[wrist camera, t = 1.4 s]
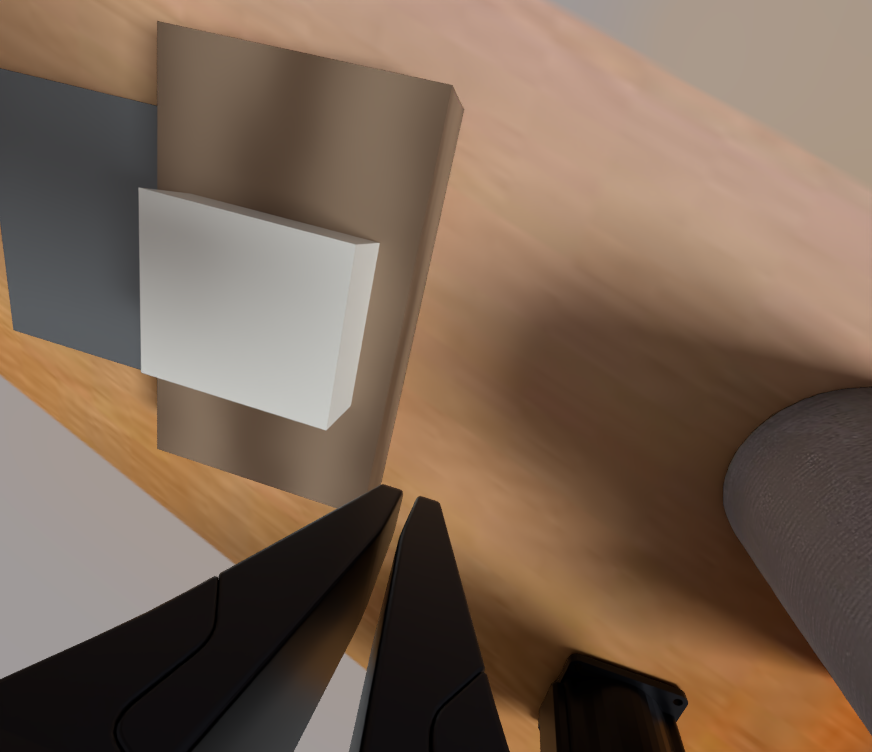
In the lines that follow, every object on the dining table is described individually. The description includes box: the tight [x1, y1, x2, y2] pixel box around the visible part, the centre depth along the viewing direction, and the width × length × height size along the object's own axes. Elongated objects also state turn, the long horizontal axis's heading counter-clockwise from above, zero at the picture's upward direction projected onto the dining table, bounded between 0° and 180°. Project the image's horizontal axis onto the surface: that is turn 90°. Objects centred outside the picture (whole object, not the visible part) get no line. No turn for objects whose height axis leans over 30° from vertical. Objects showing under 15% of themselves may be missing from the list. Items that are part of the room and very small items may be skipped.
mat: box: [0, 68, 157, 370], centre depth 22 cm, size 11×13×1 cm
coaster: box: [138, 187, 380, 430], centre depth 17 cm, size 8×7×2 cm
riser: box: [157, 21, 464, 509], centre depth 19 cm, size 11×18×3 cm, turn 167°
